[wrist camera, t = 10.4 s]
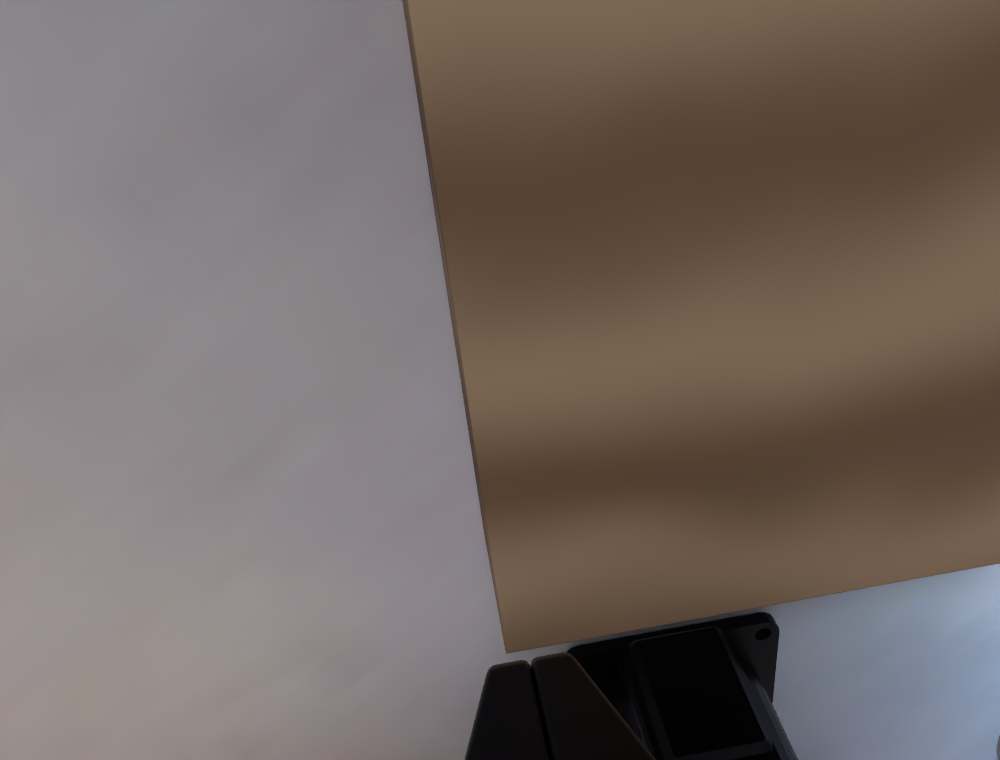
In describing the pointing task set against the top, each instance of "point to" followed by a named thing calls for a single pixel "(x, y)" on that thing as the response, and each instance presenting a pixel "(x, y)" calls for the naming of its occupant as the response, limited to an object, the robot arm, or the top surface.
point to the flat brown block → (718, 296)
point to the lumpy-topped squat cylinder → (998, 748)
